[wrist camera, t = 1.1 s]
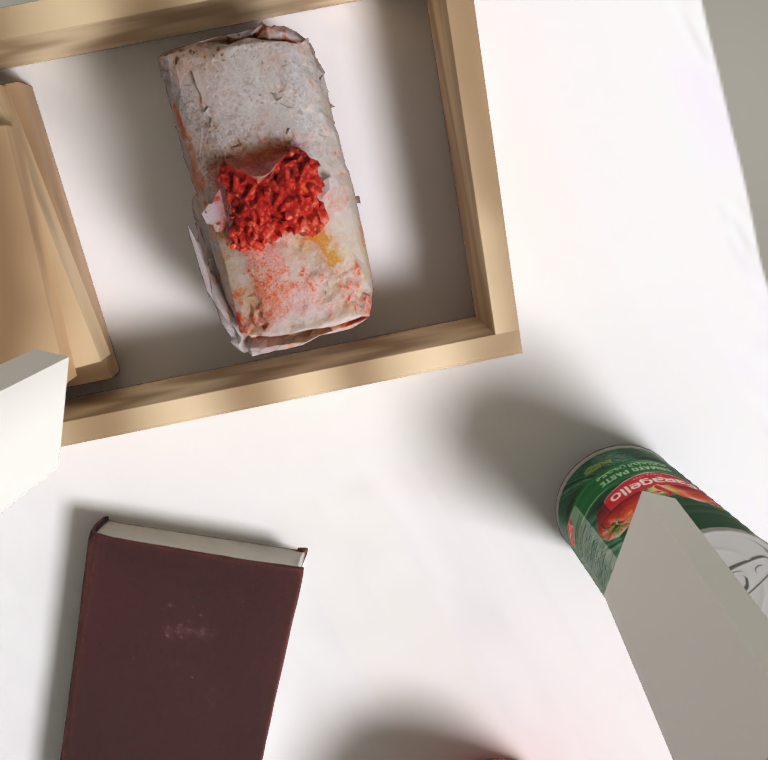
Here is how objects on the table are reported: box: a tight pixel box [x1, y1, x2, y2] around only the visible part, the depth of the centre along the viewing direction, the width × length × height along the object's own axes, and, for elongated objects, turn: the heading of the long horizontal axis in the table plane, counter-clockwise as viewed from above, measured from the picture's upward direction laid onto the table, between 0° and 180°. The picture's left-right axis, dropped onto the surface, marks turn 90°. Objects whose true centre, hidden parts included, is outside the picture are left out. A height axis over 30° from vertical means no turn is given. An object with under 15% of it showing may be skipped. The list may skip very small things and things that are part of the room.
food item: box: [158, 22, 373, 356], centre depth 32 cm, size 14×8×10 cm, turn 15°
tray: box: [0, 0, 522, 447], centre depth 34 cm, size 28×19×5 cm
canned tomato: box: [556, 445, 768, 618], centre depth 38 cm, size 8×8×11 cm
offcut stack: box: [0, 82, 120, 387], centre depth 34 cm, size 6×15×5 cm, turn 11°
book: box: [60, 516, 308, 760], centre depth 43 cm, size 12×19×3 cm, turn 167°
